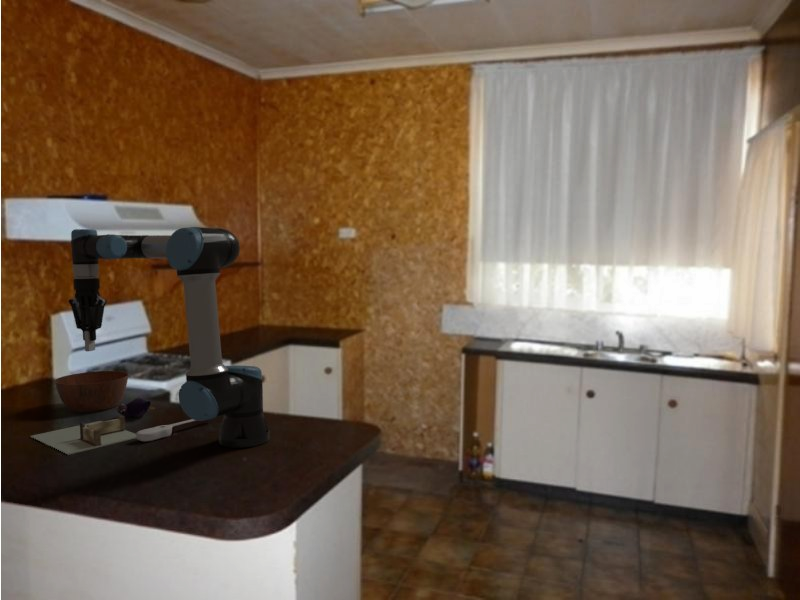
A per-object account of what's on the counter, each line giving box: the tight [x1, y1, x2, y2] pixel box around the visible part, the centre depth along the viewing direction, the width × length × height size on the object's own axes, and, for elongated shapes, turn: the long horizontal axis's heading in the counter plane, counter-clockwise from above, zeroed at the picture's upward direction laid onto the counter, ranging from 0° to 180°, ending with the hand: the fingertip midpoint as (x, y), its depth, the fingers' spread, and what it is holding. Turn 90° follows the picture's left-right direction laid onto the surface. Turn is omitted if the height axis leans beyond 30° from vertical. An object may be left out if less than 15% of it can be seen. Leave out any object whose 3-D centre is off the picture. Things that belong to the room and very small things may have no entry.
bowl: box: [54, 370, 129, 413], centre depth 236 cm, size 25×25×11 cm
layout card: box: [30, 420, 136, 456], centre depth 198 cm, size 28×22×1 cm
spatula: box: [135, 418, 197, 442], centre depth 202 cm, size 28×6×3 cm, turn 144°
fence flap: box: [87, 415, 126, 434], centre depth 199 cm, size 11×1×4 cm, turn 136°
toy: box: [115, 396, 156, 418], centre depth 221 cm, size 11×12×7 cm
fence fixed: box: [79, 421, 101, 446], centre depth 191 cm, size 11×1×6 cm, turn 50°
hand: (90, 350), depth 203 cm, fingers closed
